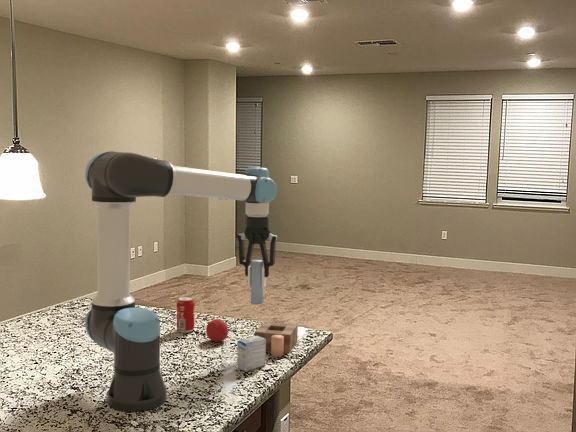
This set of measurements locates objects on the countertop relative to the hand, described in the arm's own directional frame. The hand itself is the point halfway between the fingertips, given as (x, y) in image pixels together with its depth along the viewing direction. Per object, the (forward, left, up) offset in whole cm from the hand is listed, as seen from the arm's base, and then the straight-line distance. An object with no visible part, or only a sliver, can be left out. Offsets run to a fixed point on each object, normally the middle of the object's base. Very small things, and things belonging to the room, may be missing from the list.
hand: (257, 286), depth 205 cm
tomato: (+5, +15, -22) cm, 27 cm away
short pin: (-3, -8, -21) cm, 23 cm away
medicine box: (-16, -3, -22) cm, 27 cm away
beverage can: (+13, +30, -22) cm, 39 cm away
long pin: (0, 0, -6) cm, 6 cm away
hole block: (+6, -6, -21) cm, 23 cm away
